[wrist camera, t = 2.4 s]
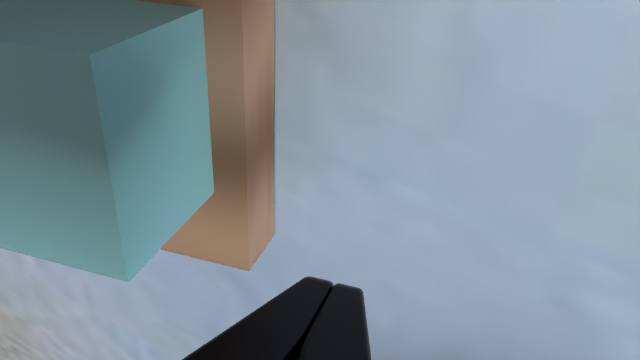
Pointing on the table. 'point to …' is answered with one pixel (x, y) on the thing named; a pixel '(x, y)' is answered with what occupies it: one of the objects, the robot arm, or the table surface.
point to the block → (101, 129)
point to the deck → (236, 134)
